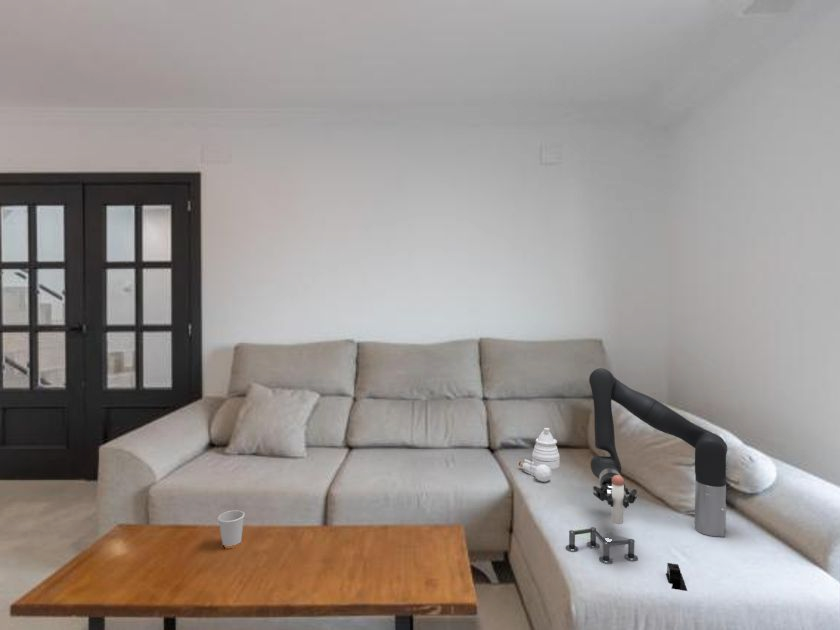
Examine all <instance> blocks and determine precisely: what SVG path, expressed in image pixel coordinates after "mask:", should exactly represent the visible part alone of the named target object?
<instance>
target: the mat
mask: <svg viewBox="0 0 840 630" xmlns="http://www.w3.org/2000/svg"><path fill="white" fill-rule="evenodd" d="M603 538H609V539H612V541H621V540H628V539H630V538H628V537H624V536H621V535H617V534H613V533H609V532H607V533H606V534H605V536H604V537H603ZM616 547H621V548H625V547H626V544H625V545H616Z"/></svg>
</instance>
